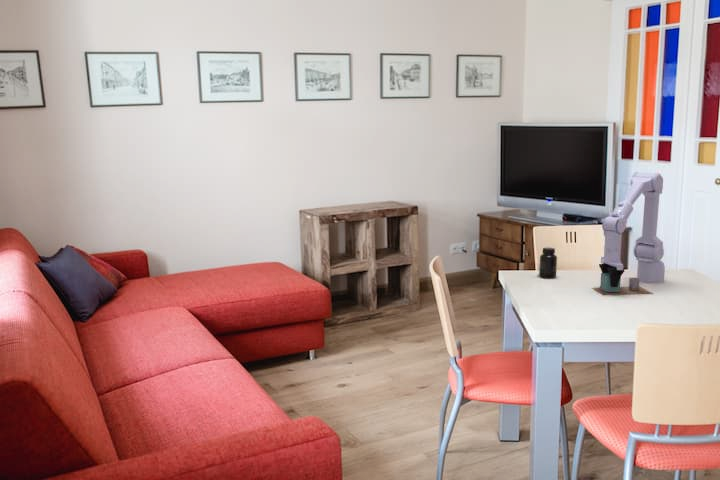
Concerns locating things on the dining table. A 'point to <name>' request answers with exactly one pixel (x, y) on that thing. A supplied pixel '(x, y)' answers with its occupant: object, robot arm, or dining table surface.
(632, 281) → the steel post
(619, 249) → the robot arm
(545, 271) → the supplement bottle
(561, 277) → the dining table surface
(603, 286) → the teal foam cube
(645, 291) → the base board
